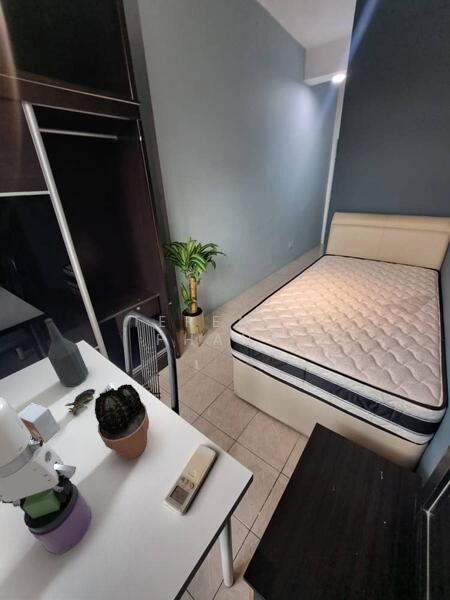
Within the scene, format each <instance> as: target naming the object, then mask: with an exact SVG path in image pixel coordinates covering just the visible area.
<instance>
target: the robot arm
mask: <svg viewBox="0 0 450 600" xmlns="http://www.w3.org/2000/svg"><path fill="white" fill-rule="evenodd" d="M17 414H18V413H17V412H16V410H15V408H14V407H13V406H12V403H10V402H9V400H8V399H6V398H4V397H3V396H0V503H2V504H12V506H13V507H15V508H17V507H19V508H20V509H21V511H23V513H26V514H27V515H29V514H28V513H27V512H26V511H25V510H24V509H23V506H24V503H25V500H26V497H27V496H30V495H33V494H36V493H39V492H42V491H45V490H48V489H52V490H55V491H56V496H57V497H58V499H59V500H60V501H61V502H62V503H64V502H66V498H67V495H68V494H69V491H70V487H69V486H68V484H67V483H68V482H69V480H70V479H72V478H73V476H74V475H75V474H76V470H77V467H76V466H74V465H68V464H64V461H63V459H62V458H61V457H60V455H59V454H58V453H57V452H56V451H55V450H54V449H53V448H52V447H51V446H50V445H48V444H47V442H46V443H44V442H43V440H42V439H41V440H38V439H35V438H34V437H33V436H32V435H31V433H30V432H29V430H28V429H27V427H26V426H25V425H24V423H23V422H22V420H21V419H20V417H19V416H18V415H17Z"/></svg>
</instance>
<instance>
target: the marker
mask: <svg viewBox="0 0 450 600" xmlns="http://www.w3.org/2000/svg"><path fill="white" fill-rule="evenodd" d="M106 385H107V389H108V390H110V389H112V388H114V389H115V390H117V389H116V386H115V385H114V383H112V382H109V381H108V382H107V384H106Z"/></svg>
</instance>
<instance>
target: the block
mask: <svg viewBox="0 0 450 600" xmlns="http://www.w3.org/2000/svg"><path fill="white" fill-rule="evenodd" d="M60 503H61V501H60V500H59V499H58V497H57V496H56V491H55V490H52V489H48V490H45V491H42V492H39V493H36V494H33V495H30V496H27V497H26V500H25V503H24V506H23V509H24V510H25V511H26V512H27V513H28V514H29V515H30V516H31V517H32V518H33V519H34V518H37V517H40V516H43V515H45V514H48V513H51V512H54V511H57V510H59V508H60Z"/></svg>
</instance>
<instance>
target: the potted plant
mask: <svg viewBox="0 0 450 600" xmlns="http://www.w3.org/2000/svg"><path fill="white" fill-rule="evenodd" d="M115 389H116V388H115ZM115 389H114V388H112V389H110V390H109V389H108V390H105V391H104V392H99V394H98V395H99V396H98V397H96V398H95V400H94V401H95V402H94V414H95V418H96V421H97V422H98V424H97V433H98V435H99V437H100V439H101V440H102V442H103V443H104V445H105V447H107V448H108V449H110V450H111V451H114V452H115V453H116V454H117V455H118V456H119V457H120V458H122V459H123V460H133V459H136V458H137V457H139V456H140V455H141V454H142V453H144V451H145V450H146V447H147V446H148V441H149V440H148V430H149V426H150V418H149V415H148V411H147V406H146V405H145V404H144V402H142V400H141V396H140V393H139V392H138V391H137V389H136V388H135V387H134V386H133V385H132V384H131V383H129V384H128V383H125V384H121V385H120V386H119V387H117V389H116V390H115Z"/></svg>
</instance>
